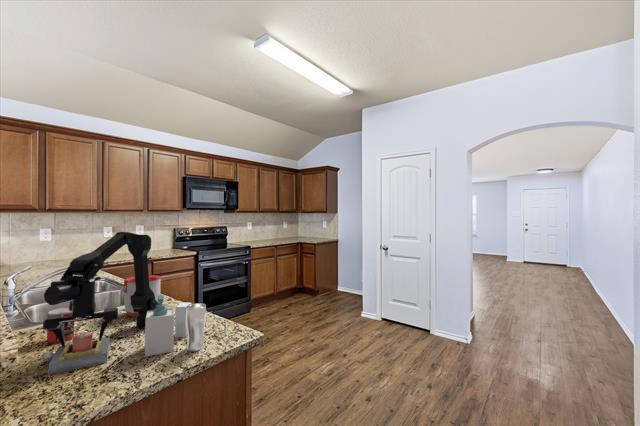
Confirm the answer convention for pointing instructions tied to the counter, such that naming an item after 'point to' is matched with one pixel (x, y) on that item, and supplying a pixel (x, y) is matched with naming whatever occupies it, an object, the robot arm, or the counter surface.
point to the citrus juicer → (131, 288)
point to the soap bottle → (159, 329)
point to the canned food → (67, 326)
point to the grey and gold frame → (77, 356)
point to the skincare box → (180, 320)
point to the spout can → (82, 342)
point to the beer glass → (195, 326)
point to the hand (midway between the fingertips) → (82, 343)
